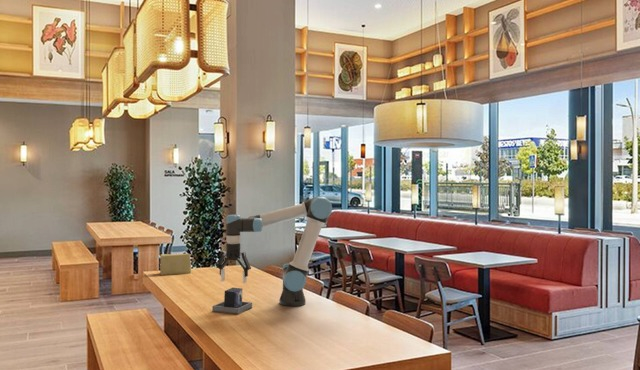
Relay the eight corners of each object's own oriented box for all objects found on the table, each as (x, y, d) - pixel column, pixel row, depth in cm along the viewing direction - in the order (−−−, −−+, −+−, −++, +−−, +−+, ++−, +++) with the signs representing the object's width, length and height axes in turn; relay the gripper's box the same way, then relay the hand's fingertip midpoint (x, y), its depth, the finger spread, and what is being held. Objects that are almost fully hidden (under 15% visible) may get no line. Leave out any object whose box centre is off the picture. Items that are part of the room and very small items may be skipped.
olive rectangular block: (190, 272, 400) (190, 252, 400) (191, 274, 391) (191, 254, 391) (160, 273, 393) (160, 253, 393) (160, 275, 384) (160, 255, 384)
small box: (234, 311, 278) (234, 291, 278) (223, 310, 280) (223, 290, 280) (242, 306, 288) (243, 288, 288) (232, 305, 290) (232, 287, 290)
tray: (251, 307, 288) (252, 302, 288) (237, 314, 274) (238, 308, 274) (227, 305, 294) (227, 299, 294) (212, 311, 279) (212, 305, 279)
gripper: (257, 243, 283) (257, 282, 283) (217, 241, 292) (217, 279, 292) (250, 244, 276) (250, 284, 276) (209, 243, 285) (210, 281, 285)
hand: (233, 281), depth 284 cm, fingers open, 13 cm apart
